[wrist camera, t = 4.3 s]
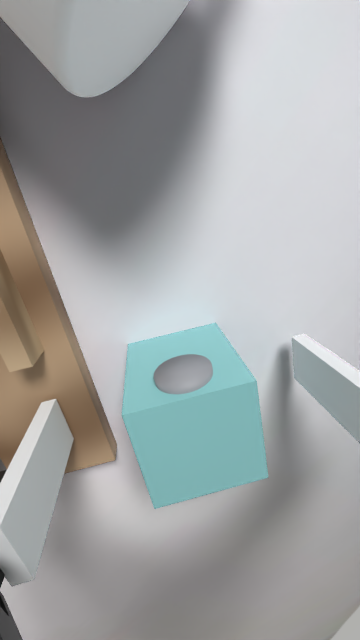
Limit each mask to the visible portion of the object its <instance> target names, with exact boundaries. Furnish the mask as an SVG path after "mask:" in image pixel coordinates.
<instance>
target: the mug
mask: <svg viewBox="0 0 360 640" xmlns="http://www.w3.org/2000/svg"><path fill="white" fill-rule="evenodd" d="M189 2H190V0H0V17H1V18H2V20H3V21H4V22H5V23H6V24H7V25H8V26H9V27H10V28H11V29H12V31H13V32H14V33H15V34H16V35H17V36H18V37H19V38H20V39H21V41H22V42H23V43H24V44H25V45H26V46H27V47H28V48H29V49H30V51H31V52H32V53H33V54H34V55H35V56H36V57H37V58H38V59H39V60H40V62H41V63H42V64H43V65H44V66H45V67H46V68H47V69H48V70H49V72H50V73H51V74H52V75H53V76H54V77H55V78H56V79H57V80H58V82H59V83H60V84H61V85H62V86H63V87H64V88H65V89H66V90H67V91H69V92H70V93H72V94H73V95H76V96H79V97H94V96H98V95H100V94H103V93H105V92H107V91H109V90H110V89H112V88H114V87H115V86H117V85H118V84H119V83H121V82H122V81H123V80H125V79H126V78H127V77H128V76H129V75H130V74H131V73H133V72H134V71H135V70H136V69H137V68H138V67H139V66H140V65H141V64H142V63H143V62H144V60H145V59H146V58H147V57H148V56H149V55H150V54H151V53H152V52H153V50H154V49H155V48H156V47H157V46H158V44H159V43H160V42H161V41H162V39H163V38H164V37H165V36H166V34H167V33H168V32H169V30H170V29H171V28H172V26H173V25H174V24H175V22H176V21H177V19H178V18H179V17H180V15H181V14H182V12H183V11H184V9H185V8H186V6H187V5H188V3H189Z"/></svg>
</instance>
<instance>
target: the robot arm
mask: <svg viewBox="0 0 360 640" xmlns="http://www.w3.org/2000/svg"><path fill="white" fill-rule="evenodd" d="M292 351H293V366H294V378H295V379H296V380H297V381H298V382H299V383H300V384H301V385H302V386H303V387H304V388H305V389H306V390H307V391H308V392H309V393H310V394H311V395H312V396H313V397H314V398H315V399H316V400H317V401H318V402H319V403H320V404H321V405H322V406H323V407H324V408H325V409H326V410H327V411H328V412H329V413H330V414H331V415H332V416H333V417H334V418H335V419H336V420H337V421H338V422H339V423H340V424H341V425H342V426H343V427H344V428H345V429H346V430H347V431H348V432H349V433H350V434H351V435H352V436H353V437H354V438H355V439H356V440H357V441H358V442H359V443H360V370H358V369H357V368H355V367H354V366H352V365H351V364H349V363H348V362H346V361H345V360H343V359H342V358H340V357H339V356H337V355H336V354H334V353H333V352H331V351H330V350H328V349H327V348H325V347H324V346H322V345H321V344H319V343H318V342H316V341H315V340H313V339H312V338H310V337H309V336H308V335H306V334H305V333H304V334H300V335H296V336H293V337H292ZM73 440H74V438H73V436H72V433H71V431H70V429H69V427H68V424H67V422H66V420H65V418H64V415H63V413H62V411H61V409H60V406H59V404H58V402H57V400H56V399H53V400H49V401H45V402H41V404H40V406H39V408H38V410H37V412H36V414H35V416H34V418H33V420H32V422H31V424H30V426H29V428H28V430H27V432H26V434H25V436H24V438H23V439H22V441H21V443H20V445H19V447H18V449H17V451H16V453H15V455H14V457H13V459H12V461H11V463H10V465H9V467H8V469H7V470H4V471H0V587H1V585H2V582H3V579H4V576H5V578H6V579H7V581H8V582H9V583H10V585H11V586H15V585H18V584H21V583H25V582H28V581H31V580H34V579H35V576H36V572H37V569H38V565H39V561H40V558H41V554H42V551H43V547H44V544H45V540H46V536H47V533H48V529H49V526H50V522H51V518H52V515H53V511H54V508H55V504H56V501H57V497H58V493H59V490H60V486H61V483H62V479H63V475H64V472H65V468H66V465H67V461H68V458H69V454H70V450H71V447H72V443H73ZM0 640H22V637H21V635H20V633H19V630H18V628H17V626H16V624H15V621H14V619H13V617H12V614H11V612H10V610H9V608H8V605H7V603H6V601H5V598H4V596H3V595H2V593H1V592H0Z"/></svg>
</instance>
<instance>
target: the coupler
mask: <svg viewBox="0 0 360 640" xmlns="http://www.w3.org/2000/svg"><path fill="white" fill-rule="evenodd" d="M122 417H123V420H124V423H125V426H126V429H127V432H128V435H129V437H130V440H131V443H132V446H133V449H134V452H135V455H136V457H137V460H138V463H139V466H140V469H141V472H142V475H143V477H144V480H145V483H146V486H147V489H148V492H149V495H150V497H151V500H152V503H153V506H154V509H156V508H160V507H163V506H167V505H171V504H174V503H178V502H182V501H185V500H189V499H193V498H196V497H200V496H203V495H207V494H211V493H214V492H218V491H222V490H225V489H229V488H232V487H236V486H240V485H243V484H247V483H251V482H254V481H258V480H261V479H265V478H268V470H267V462H266V454H265V446H264V437H263V429H262V421H261V413H260V405H259V396H258V388H257V381H256V379H255V378H254V376H253V375H252V373H251V372H250V371H249V369H248V368H247V366H246V365H245V364H244V362H243V361H242V359H241V358H240V356H239V355H238V354H237V352H236V351H235V349H234V348H233V347H232V345H231V344H230V342H229V341H228V339H227V338H226V337H225V335H224V334H223V332H222V331H221V330H220V328H219V327H218V325H217V324H216V323H213V324H209V325H205V326H200V327H196V328H192V329H188V330H184V331H180V332H176V333H172V334H168V335H163V336H159V337H155V338H151V339H147V340H143V341H139V342H135V343H131V344H128V351H127V362H126V373H125V384H124V395H123V406H122Z"/></svg>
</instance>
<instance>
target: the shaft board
mask: <svg viewBox="0 0 360 640" xmlns="http://www.w3.org/2000/svg"><path fill="white" fill-rule="evenodd" d="M53 399H56V400H57V402H58V404H59V406H60V409H61V411H62V413H63V415H64V418H65V420H66V422H67V424H68V427H69V429H70V431H71V433H72V436H73V438H74V440H73V443H72V447H71V450H70V454H69V458H68V461H67V465H66V468H65V472H64V474H65V473H69V472H72V471H76V470H80V469H84V468H87V467H91V466H95V465H99V464H102V463H106V462H110V461H114V460H115V458H116V448H117V444H116V441H115V439H114V436H113V433H112V431H111V428H110V425H109V423H108V420H107V417H106V415H105V412H104V410H103V407H102V404H101V402H100V399H99V396H98V394H97V391H96V388H95V386H94V383H93V381H92V378H91V375H90V373H89V370H88V367H87V365H86V362H85V359H84V357H83V354H82V352H81V349H80V346H79V344H78V341H77V338H76V336H75V333H74V330H73V328H72V325H71V323H70V320H69V317H68V315H67V312H66V309H65V307H64V304H63V301H62V299H61V296H60V294H59V291H58V288H57V286H56V283H55V280H54V278H53V275H52V272H51V270H50V267H49V265H48V262H47V259H46V257H45V254H44V251H43V249H42V246H41V243H40V241H39V238H38V236H37V233H36V230H35V228H34V225H33V222H32V220H31V217H30V215H29V212H28V209H27V207H26V204H25V201H24V199H23V196H22V193H21V191H20V188H19V186H18V183H17V180H16V178H15V175H14V172H13V170H12V167H11V164H10V162H9V159H8V157H7V154H6V151H5V149H4V146H3V143H2V141H1V138H0V471H4V470H7V469H8V467H9V465H10V463H11V461H12V459H13V457H14V455H15V453H16V451H17V449H18V447H19V445H20V443H21V441H22V439H23V438H24V436H25V434H26V432H27V430H28V428H29V426H30V424H31V422H32V420H33V418H34V416H35V414H36V412H37V410H38V408H39V406H40V404H41V402H45V401H49V400H53Z"/></svg>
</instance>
